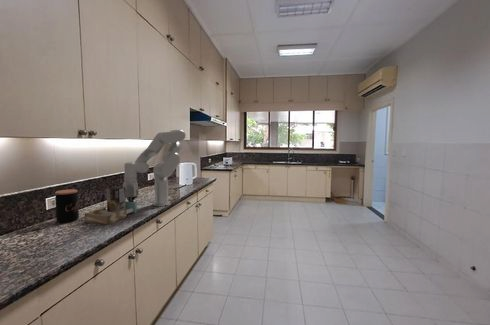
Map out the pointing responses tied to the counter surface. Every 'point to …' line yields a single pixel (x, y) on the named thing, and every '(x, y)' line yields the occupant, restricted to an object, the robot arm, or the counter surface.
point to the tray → (129, 207)
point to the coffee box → (116, 199)
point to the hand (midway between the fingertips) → (130, 205)
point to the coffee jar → (66, 206)
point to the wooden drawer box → (104, 216)
